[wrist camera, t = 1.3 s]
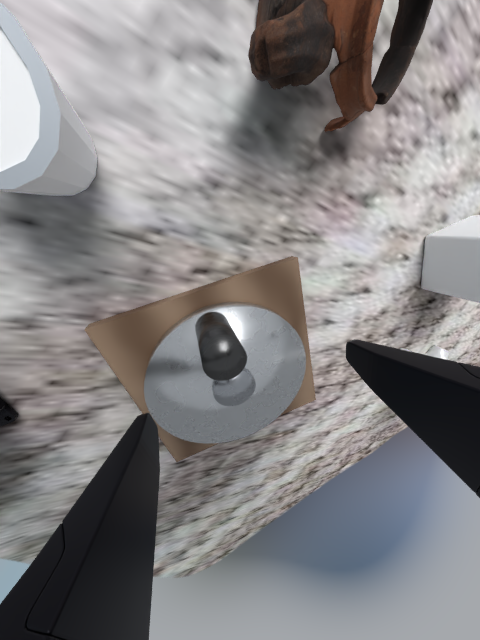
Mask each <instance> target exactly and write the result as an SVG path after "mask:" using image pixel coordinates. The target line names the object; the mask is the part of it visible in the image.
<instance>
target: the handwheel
mask: <svg viewBox="0 0 480 640" xmlns="http://www.w3.org/2000/svg"><path fill="white" fill-rule="evenodd" d="M305 369H306V354H305V349H304V346H303V343H302V341H301V338H300V337H299V335H298V333H297V332H296V330H295V329H294V328H293V327H292V326H291V325H290V324H289V323H288V322H287V321H285V320H284V319H283V318H282V317H281V316H279V315H278V314H277V313H275V312H274V311H272V310H270V309H268V308H266V307H263V306H261V305H257V304H253V303H248V302H224V303H217V304H213V305H210V306H206V307H203V308H201V309H199V310H196V311H194V312H192V313H190V314H189V315H187V316H185V317H183V318H182V319H181V320H179V321H178V322H177V323H175V324H174V325H173V326H172V327H171V328H170V329H169V330H168V331H167V332H166V333H165V334H164V335H163V336H162V337H161V339H160V340H159V341H158V343H157V344H156V346H155V348H154V350H153V351H152V354H151V356H150V359H149V361H148V366H147V371H146V375H145V380H144V396H145V402H146V405H147V408H148V410H149V412H150V414H151V416H152V417H153V419H154V420H155V421H156V422H157V424H158V425H159V426H161V427H162V428H163V429H164V430H165V431H167V432H168V433H170V434H171V435H173V436H176V437H178V438H180V439H183V440H186V441H190V442H195V443H205V444H211V443H223V442H229V441H233V440H237V439H240V438H243V437H246V436H248V435H251V434H253V433H255V432H257V431H259V430H261V429H262V428H264V427H265V426H267V425H268V424H270V423H271V422H273V421H274V420H275V419H276V418H277V417H279V416H280V415H281V414H282V413H283V412H284V411H285V410H286V409H287V407H288V406H289V405H290V404H291V402H292V401H293V399H294V398H295V396H296V395H297V393H298V391H299V389H300V387H301V384H302V381H303V379H304V374H305Z"/></svg>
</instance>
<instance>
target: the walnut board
mask: <svg viewBox="0 0 480 640" xmlns="http://www.w3.org/2000/svg"><path fill="white" fill-rule="evenodd" d="M224 302H248V303H253V304H257V305H261V306H263V307H266V308H268V309H270V310H272V311H274V312H275V313H277V314H278V315H279V316H281V317H282V318H283V319H284V320H285V321H287V322H288V323H289V324H290V325H291V326H292V327H293V328H294V329H295V330H296V332H297V333H298V335H299V337H300V338H301V341H302V343H303V346H304V349H305V354H306V369H305V374H304V379H303V381H302V384H301V387H300V389H299V391H298V393H297V395H296V396H295V398H294V399H293V401H292V402H291V404H290V405H289V406H288V407H287V409H286V410H285V411H284V412H283V413H282V414H281V415H283V414H285V413H287V412H289V411H292V410H294V409H296V408H298V407H301V406H303V405H305V404H307V403H310V402H312V401H314V400H316V398H315V390H314V382H313V374H312V366H311V358H310V350H309V342H308V334H307V326H306V318H305V310H304V302H303V294H302V286H301V278H300V271H299V263H298V258H297V257H293V256H291V257H288V258H285V259H282V260H279V261H276V262H273V263H270V264H267V265H264V266H261V267H258V268H255V269H252V270H249V271H246V272H243V273H240V274H237V275H234V276H231V277H228V278H225V279H222V280H219V281H217V282H214V283H211V284H208V285H205V286H202V287H199V288H196V289H193V290H190V291H187V292H184V293H181V294H178V295H175V296H172V297H169V298H166V299H163V300H160V301H157V302H154V303H151V304H148V305H145V306H142V307H139V308H136V309H133V310H130V311H127V312H124V313H121V314H118V315H115V316H112V317H109V318H106V319H103V320H100V321H97V322H94V323H91V324H89V325H88V326H87V327H86V328H85V331H86V333H87V334H88V336H89V337H90V338H91V340H92V341H93V343H94V344H95V346H96V347H97V349H98V350H99V351H100V353H101V354H102V356H103V357H104V359H105V360H106V361H107V363H108V364H109V366H110V367H111V369H112V370H113V371H114V373H115V374H116V376H117V377H118V379H119V380H120V382H121V383H122V384H123V386H124V387H125V389H126V390H127V392H128V393H129V394H130V396H131V397H132V399H133V400H134V402H135V403H136V404H137V406H138V407H139V409H140V410H141V412H142V413H143V414H145V413H149V414H150V412H149V410H148V408H147V405H146V402H145V396H144V380H145V375H146V371H147V366H148V361H149V359H150V356H151V354H152V351H153V350H154V348H155V346H156V344H157V343H158V341H159V340H160V339H161V337H162V336H163V335H164V334H165V333H166V332H167V331H168V330H169V329H170V328H171V327H172V326H173V325H174V324H175V323H177V322H178V321H179V320H181V319H182V318H183V317H185V316H187V315H189V314H190V313H192V312H194V311H196V310H199V309H201V308H203V307H206V306H210V305H213V304H217V303H224ZM150 415H151V414H150ZM281 415H280V416H281ZM152 418H153V417H152ZM153 420H154V419H153ZM154 422H155V423H156V425H157V428H158V436H159V437H160V439H161V440H162V442H163V443H164V445H165V446H166V448H167V449H168V450H169V452H170V453H171V455H172V456H173V458H174V459H175V460H176V462H178V461H180V460H183V459H185V458H187V457H189V456H191V455H194V454H196V453H198V452H200V451H203V450H205V449H207V448H209V447H212V446H214V445H216V444H218V443H211V444H205V443H195V442H190V441H186V440H183V439H180V438H178V437H176V436H173V435H171V434H170V433H168V432H167V431H165V430H164V429H163V428H162V427H161V426H159V425H158V424H157V422H156V421H155V420H154Z"/></svg>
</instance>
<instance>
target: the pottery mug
mask: <svg viewBox="0 0 480 640" xmlns="http://www.w3.org/2000/svg"><path fill="white" fill-rule="evenodd" d="M383 2H384V0H259V4H258V14H257V22H256V30H255V31H254V32H253V34H252V36H251V41H250V49H249V60H250V64H251V70H252V73H253V74H254V75H255V77H256V78H257V80H260V81H266V80H267V81H268V83H269V84H270V86H271V87H272V88H273V89H276V88H277V89H281V88H282V87H284V86H288V85H289V84H291V85H292V86H298V85H308V84H310V83H311V82H312V81H313V80H314V79H315V78H316V77H317V76H319V75H320V74H322V73H323V72H324V70H325V69H326V68H327V67H328V65H329V62H330V59H331V55H332V49H333V48H334V49H335V50H336V52H337V56H338V60H339V64H338V65H337V66H336V67H335V68H334V69H333V70H332V71H331V73H330V82H331V85H332V88H333V91H334V94H335V98H336V102H337V104H338V105H339V107H340V109H341V112H342V114H343V117H339V118H336V119H333V120H331V121H330V122H329V123H328V124H327V125H326V127H325V130H324V131H325V132H327V131H333V130H336V129H339V128H342V127H344V126H346V125H347V124H348V123H350V122H351V121H353V120H354V119H356V118H357V117H358V116H359V115H360V114H362V113H363V112H364V111H368V112H370V111H372V110H373V108H374V105H375V104H386V103H387V102H388V100H389V99H390V98H391V97H392V95H393V94H394V92H395V91H396V89H397V87H398V86H399V84H400V82H401V80H402V78H403V77H404V75H405V73H406V71H407V69H408V67H409V64H410V62H411V59H412V57H413V55H414V51H415V49H416V47H417V45H418V43H419V40H420V38H421V35H422V33H423V30H424V27H425V24H426V20H427V17H428V15H429V12H430V9H431V6H432V2H433V0H399V7H398V12H397V15H396V19H395V23H394V26H393V29H392V33H391V39H390V48H389V49H388V51H387V52H386V53H385V54H384V57H383V59H382V61H381V63H380V66H379V69H378V72H377V75H376V77H375V79H374V81H373V84H371V66H372V52H373V40H374V37H375V33H376V29H377V24H378V20H379V16H380V12H381V9H382V5H383Z"/></svg>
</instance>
